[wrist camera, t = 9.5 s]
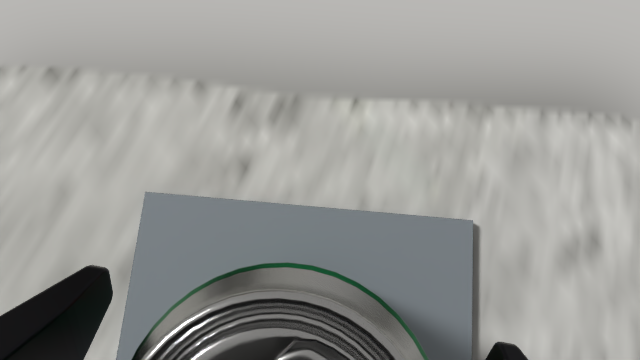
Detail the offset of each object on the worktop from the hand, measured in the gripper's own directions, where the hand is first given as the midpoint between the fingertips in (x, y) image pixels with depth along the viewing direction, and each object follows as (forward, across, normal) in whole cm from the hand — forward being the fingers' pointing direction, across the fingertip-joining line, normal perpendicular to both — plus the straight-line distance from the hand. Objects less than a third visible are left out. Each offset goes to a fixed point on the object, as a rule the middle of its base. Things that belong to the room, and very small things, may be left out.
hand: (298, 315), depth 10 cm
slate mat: (+5, 0, +7) cm, 8 cm away
